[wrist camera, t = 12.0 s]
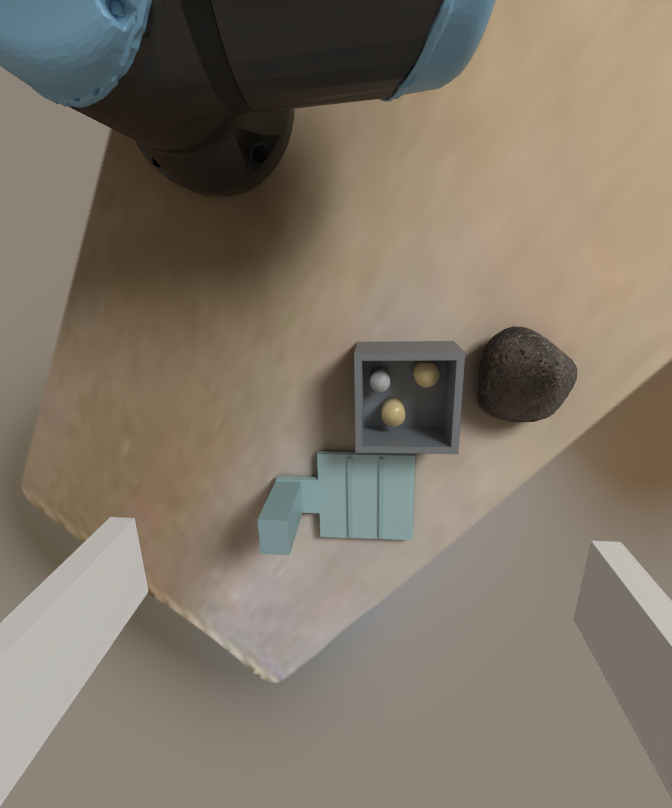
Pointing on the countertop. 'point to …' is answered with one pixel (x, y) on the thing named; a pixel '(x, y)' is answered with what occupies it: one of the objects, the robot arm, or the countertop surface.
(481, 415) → the countertop surface
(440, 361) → the tub
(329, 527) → the pale blue ridged block
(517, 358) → the stone
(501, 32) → the countertop surface
